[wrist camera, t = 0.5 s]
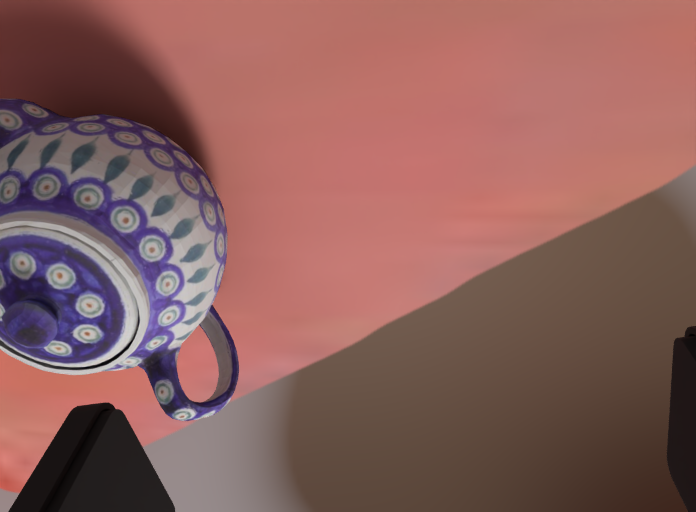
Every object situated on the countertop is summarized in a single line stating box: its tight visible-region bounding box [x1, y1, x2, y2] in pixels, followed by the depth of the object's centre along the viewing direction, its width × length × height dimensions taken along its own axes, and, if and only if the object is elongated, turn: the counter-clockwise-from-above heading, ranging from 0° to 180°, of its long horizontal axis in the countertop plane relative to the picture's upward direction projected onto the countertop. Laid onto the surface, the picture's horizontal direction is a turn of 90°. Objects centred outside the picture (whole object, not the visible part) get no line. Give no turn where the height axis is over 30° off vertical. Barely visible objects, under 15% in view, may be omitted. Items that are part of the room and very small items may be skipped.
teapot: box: [0, 99, 239, 421], centre depth 35 cm, size 25×15×15 cm, turn 33°
